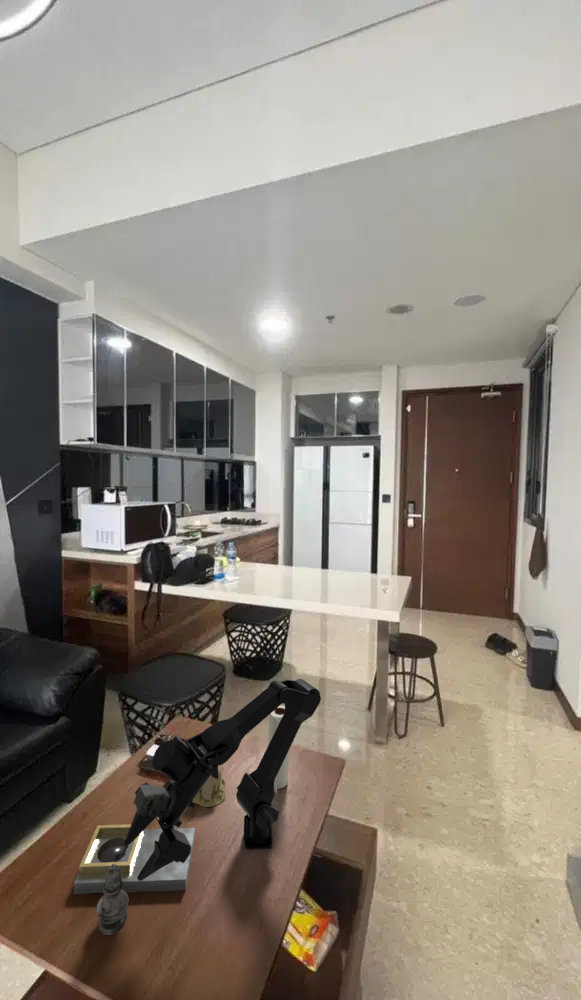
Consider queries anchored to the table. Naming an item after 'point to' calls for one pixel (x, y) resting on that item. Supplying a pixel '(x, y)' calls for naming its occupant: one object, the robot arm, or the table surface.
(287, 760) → the paper towel roll
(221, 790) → the ceramic model
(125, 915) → the grey tiered ornament
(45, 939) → the table surface
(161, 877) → the grey slab
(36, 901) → the table surface
